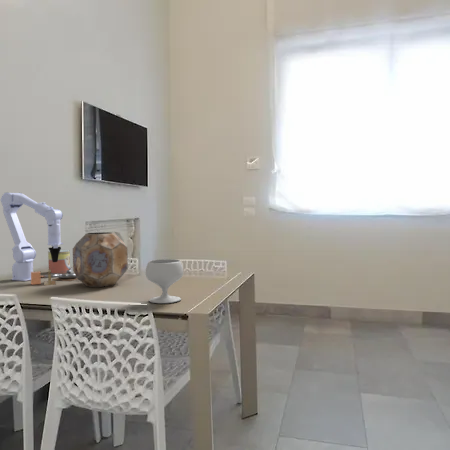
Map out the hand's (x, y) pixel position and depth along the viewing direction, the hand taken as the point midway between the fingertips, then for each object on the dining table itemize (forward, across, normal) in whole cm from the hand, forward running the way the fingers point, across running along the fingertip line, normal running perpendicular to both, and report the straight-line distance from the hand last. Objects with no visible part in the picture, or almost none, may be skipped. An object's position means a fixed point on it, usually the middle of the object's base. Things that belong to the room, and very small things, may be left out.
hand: (54, 261), depth 210 cm
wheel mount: (+9, +4, -7) cm, 12 cm away
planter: (+10, -22, -18) cm, 30 cm away
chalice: (+9, -69, -34) cm, 78 cm away
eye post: (+9, -6, +3) cm, 11 cm away
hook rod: (+9, -5, +4) cm, 11 cm away
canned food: (+10, +30, -4) cm, 32 cm away
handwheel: (+9, +4, -7) cm, 12 cm away
